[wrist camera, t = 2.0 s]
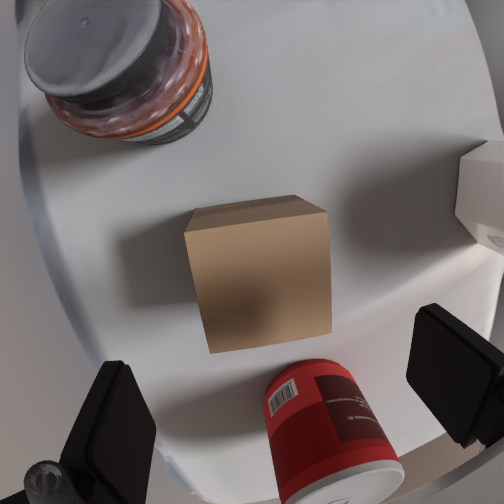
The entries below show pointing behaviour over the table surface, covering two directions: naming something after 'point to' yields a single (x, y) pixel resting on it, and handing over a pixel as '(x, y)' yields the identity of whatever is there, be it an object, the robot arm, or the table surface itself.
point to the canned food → (327, 438)
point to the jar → (483, 194)
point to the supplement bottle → (122, 67)
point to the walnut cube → (261, 271)
